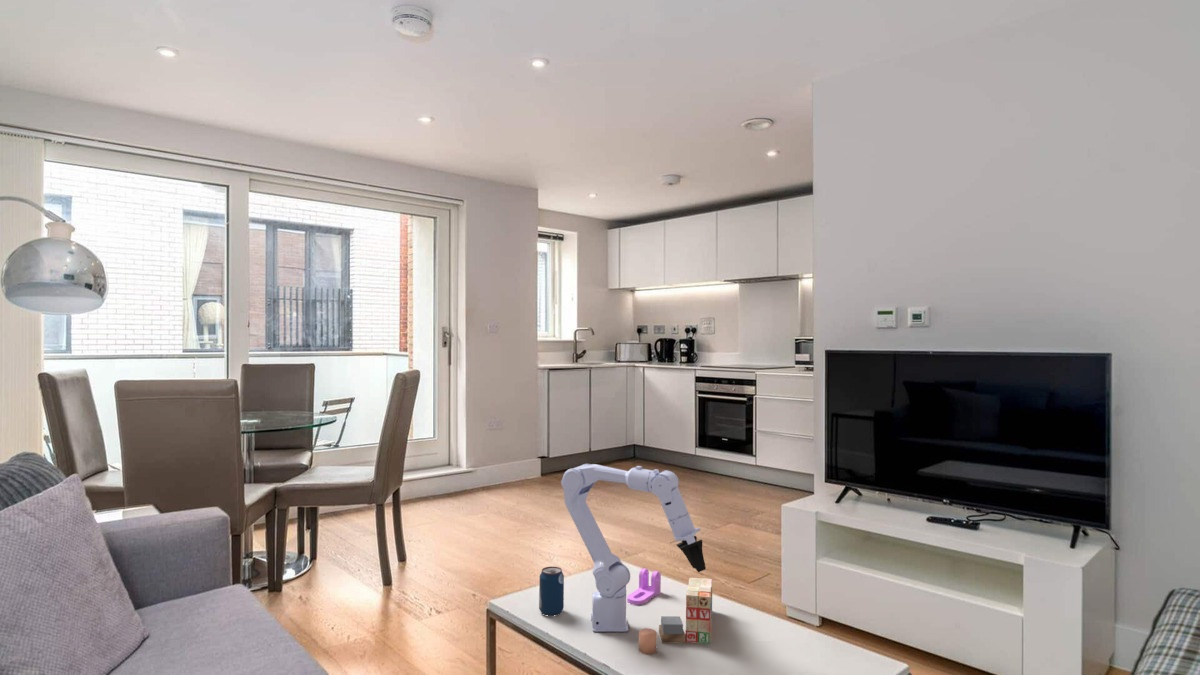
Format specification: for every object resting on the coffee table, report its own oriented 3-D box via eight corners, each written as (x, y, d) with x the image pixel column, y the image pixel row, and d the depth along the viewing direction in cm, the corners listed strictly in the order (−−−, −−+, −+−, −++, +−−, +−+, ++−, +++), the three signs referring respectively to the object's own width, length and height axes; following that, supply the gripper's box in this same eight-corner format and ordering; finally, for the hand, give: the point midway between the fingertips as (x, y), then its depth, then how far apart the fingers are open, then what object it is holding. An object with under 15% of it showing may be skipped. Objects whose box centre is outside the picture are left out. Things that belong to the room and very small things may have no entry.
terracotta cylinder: (639, 654, 158) (639, 636, 158) (638, 646, 162) (638, 628, 162) (657, 654, 158) (657, 636, 158) (655, 646, 162) (655, 628, 162)
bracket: (644, 589, 201) (644, 566, 201) (660, 592, 198) (660, 570, 198) (623, 602, 190) (623, 579, 190) (640, 607, 187) (640, 583, 187)
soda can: (568, 611, 183) (569, 569, 183) (551, 619, 177) (551, 576, 178) (551, 605, 187) (551, 564, 187) (533, 612, 182) (534, 570, 182)
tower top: (663, 634, 165) (663, 624, 165) (661, 625, 170) (661, 616, 170) (682, 634, 165) (682, 624, 165) (679, 625, 170) (680, 616, 170)
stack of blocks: (690, 609, 186) (690, 566, 186) (712, 611, 185) (712, 568, 185) (685, 642, 165) (685, 594, 165) (710, 644, 164) (710, 596, 164)
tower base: (661, 644, 164) (661, 634, 164) (658, 634, 170) (658, 624, 170) (685, 644, 164) (685, 634, 165) (681, 634, 170) (681, 624, 170)
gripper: (696, 512, 159) (719, 566, 156) (688, 510, 173) (709, 559, 170) (670, 523, 159) (692, 577, 156) (664, 520, 173) (684, 569, 170)
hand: (699, 568), depth 163 cm, fingers open, 7 cm apart
